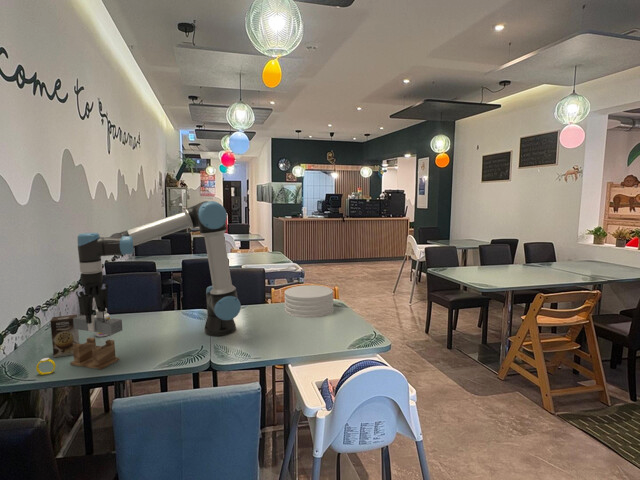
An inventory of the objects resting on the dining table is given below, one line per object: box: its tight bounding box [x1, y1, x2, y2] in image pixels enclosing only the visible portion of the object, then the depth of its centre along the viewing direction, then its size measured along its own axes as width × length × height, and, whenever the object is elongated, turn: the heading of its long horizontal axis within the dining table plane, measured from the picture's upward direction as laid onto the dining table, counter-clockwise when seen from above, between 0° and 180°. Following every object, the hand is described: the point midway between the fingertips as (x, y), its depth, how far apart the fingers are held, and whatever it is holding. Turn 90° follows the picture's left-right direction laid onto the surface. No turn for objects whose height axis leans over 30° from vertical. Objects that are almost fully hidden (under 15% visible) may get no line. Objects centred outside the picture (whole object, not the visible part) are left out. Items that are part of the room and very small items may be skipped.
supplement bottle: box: [94, 308, 111, 338], centre depth 190 cm, size 7×7×13 cm
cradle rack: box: [70, 336, 121, 370], centre depth 159 cm, size 16×9×8 cm, turn 73°
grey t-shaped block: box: [73, 315, 123, 336], centre depth 157 cm, size 20×6×4 cm, turn 73°
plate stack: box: [284, 284, 334, 319], centre depth 225 cm, size 28×28×12 cm
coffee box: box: [49, 314, 80, 358], centre depth 168 cm, size 9×6×16 cm
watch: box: [35, 357, 57, 376], centre depth 149 cm, size 6×3×6 cm, turn 108°
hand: (96, 328), depth 157 cm, fingers closed on grey t-shaped block, 3 cm apart
